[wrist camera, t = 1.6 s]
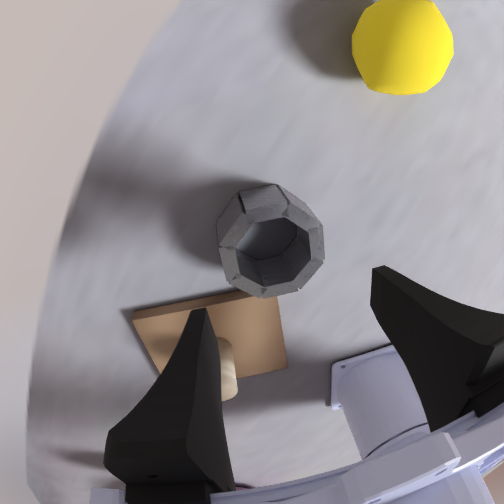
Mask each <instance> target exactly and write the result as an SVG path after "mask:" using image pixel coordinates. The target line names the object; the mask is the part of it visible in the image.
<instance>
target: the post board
mask: <svg viewBox="0 0 504 504" xmlns="http://www.w3.org/2000/svg"><path fill="white" fill-rule="evenodd" d="M204 307H206V309H207V312H208V315H209V318H210V321H211V324H212V327H213V329H214V332H215V335H216V338H217V341H218V347H219V354H220V361H221V394H222V401H226V400H229V399H231V398H233V397H234V396H235V395H236V394H237V392H238V388H237V381H236V379H238V378H243V377H248V376H253V375H257V374H262V373H267V372H271V371H276V370H280V369H284V368H288V366H287V359H286V352H285V345H284V339H283V332H282V326H281V319H280V313H279V306H278V300H277V296H274V297H270V298H265V299H263V298H262V296H261V297H260V299H259V298H257V297H255V296H253V295H251V294H249V293H247V292H245V291H243V290H238V291H233V292H229V293H224V294H219V295H214V296H210V297H205V298H200V299H195V300H190V301H185V302H180V303H175V304H170V305H165V306H160V307H155V308H149V309H144V310H139V311H134V313H133V317H132V322H133V324H134V326H135V328H136V330H137V332H138V334H139V336H140V337H141V339H142V341H143V343H144V345H145V347H146V349H147V351H148V352H149V354H150V356H151V358H152V360H153V361H154V363H155V365H156V367H157V369H158V370H159V372H160V374H161V373H162V371H163V369H164V368H165V366H166V364H167V363H168V361H169V359H170V357H171V355H172V353H173V351H174V349H175V347H176V345H177V343H178V341H179V339H180V336H181V334H182V332H183V329H184V327H185V324H186V322H187V319H188V316H189V314H190V312H191V310H194V309H199V308H204Z"/></svg>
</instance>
